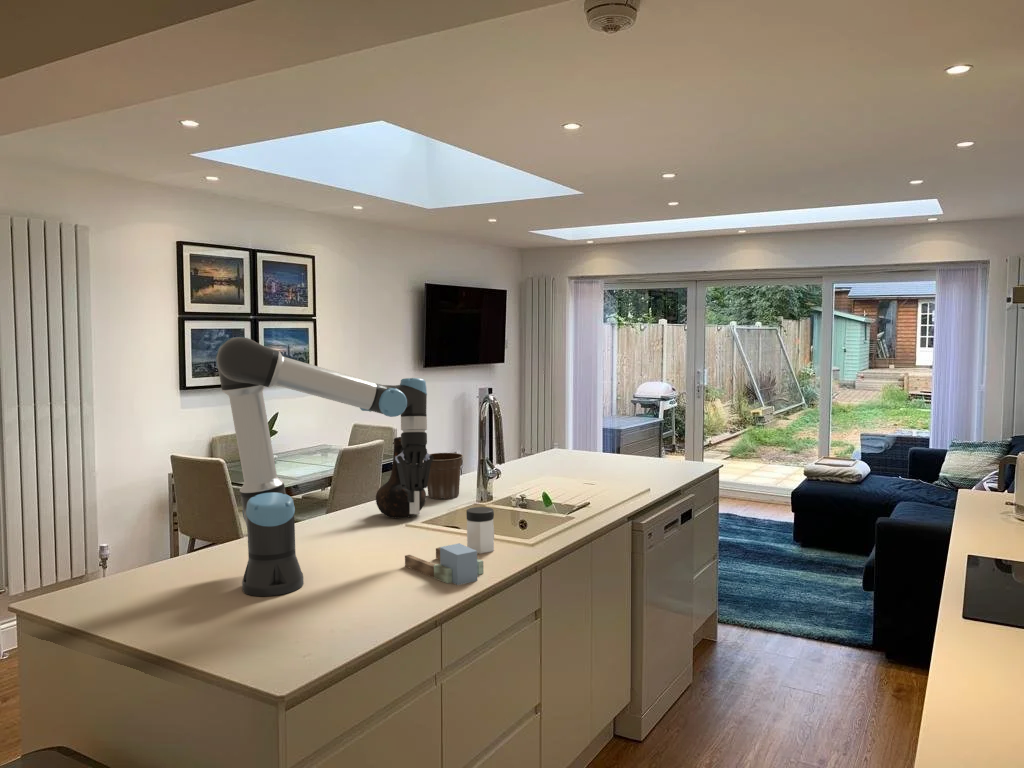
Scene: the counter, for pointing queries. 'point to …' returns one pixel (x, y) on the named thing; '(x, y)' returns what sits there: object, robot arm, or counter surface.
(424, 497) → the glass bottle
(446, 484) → the plant pot
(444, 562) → the block
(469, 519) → the jar
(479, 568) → the chute
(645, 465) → the counter surface
